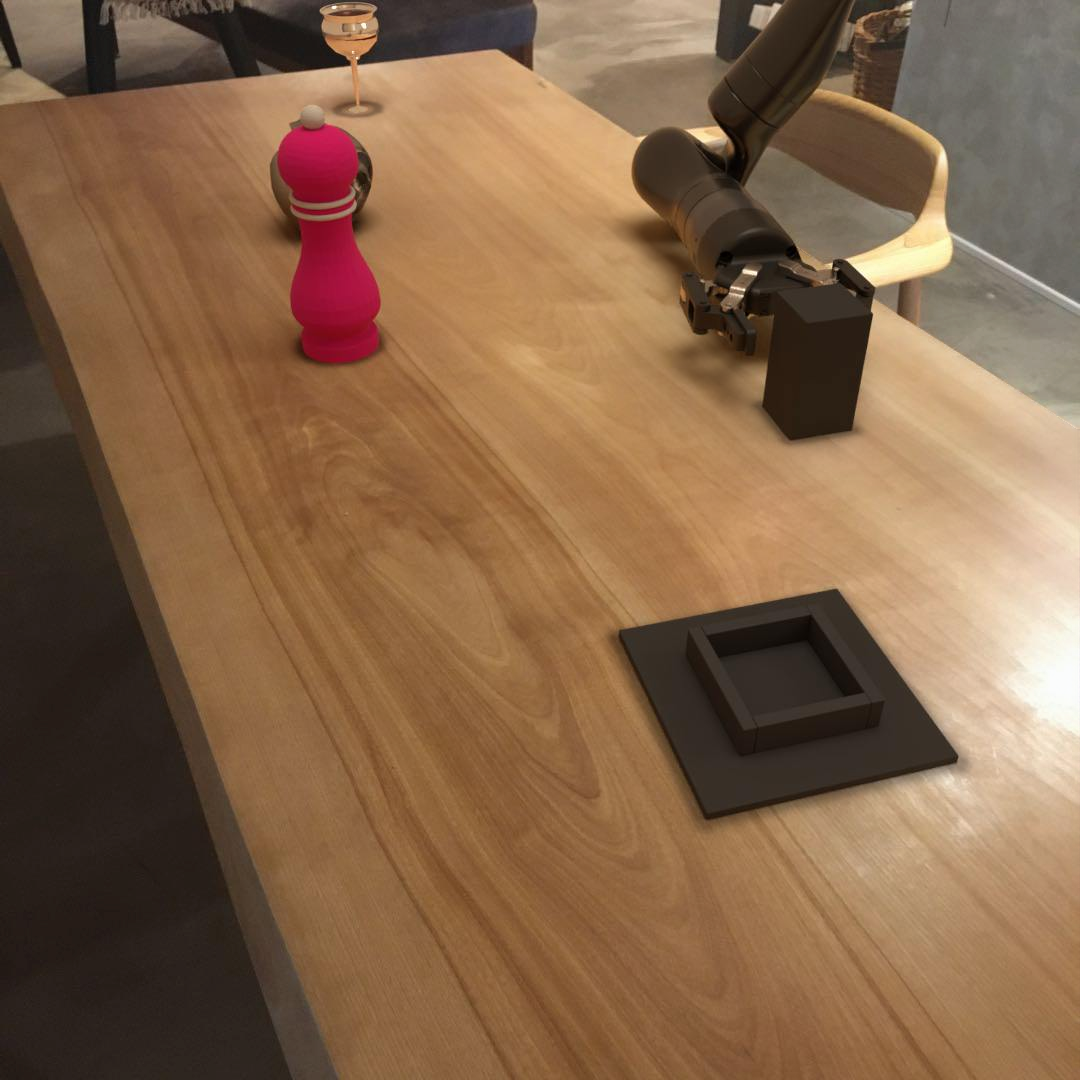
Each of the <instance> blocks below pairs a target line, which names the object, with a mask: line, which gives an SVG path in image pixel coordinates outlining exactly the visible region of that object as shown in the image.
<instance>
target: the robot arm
mask: <svg viewBox="0 0 1080 1080" xmlns="http://www.w3.org/2000/svg"><path fill="white" fill-rule="evenodd" d="M855 2H856V0H784V2H783V3H782V4H781V6H780V7H779V8H778V9H777V11H776V12H775V14H774V15H773V16H772V18H771V19H770V20H769V21H768V22H767V24H766V25H765V26H764V27H763V29H762V30H761V31H760V32H759V34H758V35H757V36H756V37H755V39H754V40H753V41H752V42H751V43H750V44H749V46H747V47H746V49H745V50H744V51H743V53H742V54H741V55H740V56H739V57H738V58H737V60H736V61H734V63H733V64H732V66H731V67H729V69H728V70H727V72H725V74H724V75H723V76H722V77H721V79H720V80H719V81H718V82H717V83H716V85H715V86H714V87H713V88H712V90H711V91H710V93H709V95H708V96H707V97H708V98H707V104H706V105H707V110H708V112H709V114H710V116H711V118H712V119H713V121H714V122H715V123H716V125H717V126H718V128H719V129H720V130H721V131H722V132H723V133H724V135H725V136H726V137H727V139H726V142H725V144H724V146H723V148H722V149H721V150H720V151H719V152H717V151H716V150H714V149H713V148H711V147H710V146H709V145H707V144H705V143H704V142H702V141H701V140H700V139H699V138H697V137H696V136H695V135H693V134H691V132H689V131H687V130H686V129H684V128H682V127H678V126H671V125H669V126H662V127H659V128H657V129H655V130H653V131H651V132H649V134H647V135H646V136H645V137H644V138H643V139H642V140H641V141H640V142H639V144H638V145H637V148H636V149H635V151H634V153H633V157H632V161H631V166H630V167H631V169H630V172H631V173H630V175H631V181H632V185H633V187H634V190H635V191H636V193H637V194H638V196H639V197H640V198H641V199H642V200H643V201H644V202H645V203H646V205H648V206H649V207H650V209H652V210H653V211H654V212H655V214H657V215H659V217H660V218H662V219H663V220H664V221H665V222H667V223H668V225H670V227H671V228H672V229H673V230H674V231H675V232H676V234H677V236H678V238H679V240H680V241H681V242H682V244H683V245H684V246H685V248H686V250H687V252H688V254H689V258H690V260H691V262H692V263H693V265H694V267H695V268H696V270H697V272H698V273H699V275H700V276H701V278H699V276H698V274H697V273H695V272H694V271H685V272H682V273H681V276H680V290H679V291H680V292H679V305H680V307H681V310H682V311H683V314H684V316H685V318H686V320H687V323H688V325H689V327H690V329H691V331H692V333H693V334H695V335H698V336H705V335H707V334H709V330H711V331H717V334H718V335H719V336H720V337H724V339H725V341H726V342H727V343H728V345H729V347H730V348H731V349H732V350H733V351H735V352H740V354H741V356H742V357H743V358H750V357H754V356H755V353H756V346H757V338H758V337H757V330H756V328H755V327H754V325H753V323H752V322H751V321H750V319H751V318H753V317H755V316H757V317H758V318H760V317H769V316H774V310H775V302H776V294H777V292H778V291H785V290H792V289H800V288H807V287H815V286H822V285H829V284H837V283H841V284H842V285H843V286H844V287H845V288H846V289H847V290H848V291H850V292H851V293H852V294H853V295H854V296H855V297H856V298H857V299H858V300H859V301H860V302H861V303H862V304H863V305H865V306H866V307H867V308H868V309H869V310H870V311H871V312H872V306H873V302H874V296H875V294H876V286H875V285H874V284H872V283H871V282H870V281H869V280H868V279H867V278H866V277H865V276H864V275H863V274H862V273H861V272H860V271H859V270H857V269H856V267H854V265H852V264H851V263H850V262H849V261H848V260H846V259H844V258H836V259H834V260H833V261H832V263H831V268H828V269H827V268H826V269H819V270H816V268H815V267H814V266H813V265H810V264H808V263H806V262H804V261H803V259H802V257H801V255H800V251H799V249H798V247H797V245H796V242H795V241H794V239H793V238H792V237H791V236H790V235H789V234H788V232H787V231H786V230H785V229H784V228H783V227H782V225H781V224H780V223H779V222H778V221H777V219H775V217H774V216H773V215H772V214H771V213H770V211H769V210H768V209H767V208H766V207H765V206H764V205H763V204H762V203H760V202H759V200H758V199H755V198H754V197H753V196H752V195H751V194H750V193H749V191H748V190H747V189H746V188H745V187H746V185H747V183H748V182H749V179H750V177H751V176H752V174H753V172H754V170H755V168H756V166H757V165H758V163H759V161H761V158H762V156H763V155H764V153H765V151H766V149H767V147H768V146H769V144H770V143H771V141H772V140H773V139H774V137H775V136H776V135H777V134H778V133H779V132H780V131H781V129H782V128H783V127H784V126H785V125H786V124H787V123H788V122H789V121H790V120H791V118H793V117H794V115H796V114H797V112H798V111H799V110H800V109H801V107H803V105H804V104H805V103H806V102H807V101H808V100H809V99H810V98H811V96H812V95H813V94H814V93H815V92H816V90H817V89H818V88H819V86H820V85H821V84H822V82H823V81H824V79H825V77H826V76H827V74H828V73H829V71H830V69H831V66H832V64H833V62H834V60H835V58H836V55H837V53H838V50H839V47H840V44H841V42H842V39H843V36H844V33H845V29H846V27H847V24H848V21H849V18H850V15H851V12H852V9H853V7H854V6H855V5H854V4H855ZM710 297H713V298H714V300H715V301H716V302H718V303H720V304H719V305H712V302H711V300H710Z"/></svg>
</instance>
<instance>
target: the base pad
mask: <svg viewBox="0 0 1080 1080" xmlns="http://www.w3.org/2000/svg"><path fill="white" fill-rule="evenodd" d="M618 638H619V641H620V643H621V645H622V646H623V647H622V648H623V649H624V651H625V653H626V656H627V657H628V660H629V661H630V664H631V665H632V668H633V670H634V672H635V673H636V676H637V678H638V680H639V683H640V684H641V687H642V689H643V691H644V693H645V695H646V697H647V699H648V701H649V703H650V705H651V708H652V710H653V712H654V713H655V716H656V718H657V720H658V722H659V724H660V727H661V728H662V730H663V733H664V735H665V737H666V739H667V741H668V744H669V745H670V747H671V749H672V751H673V753H674V756H675V757H676V758H675V759H676V760H677V763H678V764H679V766H680V768H681V770H682V772H683V775H684V777H685V780H686V781H687V783H688V785H689V788H690V790H691V791H692V793H693V795H694V797H695V799H696V802H697V803H698V806H699V809H700V810H701V812H702V814H703V816H704V818H705V820H707V821H708V820H713V819H717V818H722V817H727V816H730V815H735V814H740V813H743V812H744V813H745V812H748V811H753V810H757V809H760V808H766V807H770V806H774V805H778V804H783V803H787V802H791V801H796V800H800V799H805V798H809V797H813V796H817V795H823V794H826V793H827V794H828V793H831V792H836V791H839V790H843V789H848V788H853V787H856V786H857V787H858V786H861V785H865V784H871V783H874V782H879V781H884V780H887V779H892V778H896V777H900V776H905V775H909V774H913V773H918V772H922V771H927V770H930V769H936V768H940V767H944V766H949V765H952V764H956V763H958V760H959V757H960V756H959V754H958V752H957V751H956V750H955V748H954V747H953V746H952V744H951V743H950V742H949V740H948V739H947V738H946V736H945V735H944V734H943V732H942V731H941V729H940V728H939V727H938V725H937V724H936V723H935V721H934V719H932V717H931V716H930V714H929V713H928V711H927V710H926V709H925V707H924V706H923V704H921V702H920V700H919V699H918V698H917V696H916V695H915V694H914V692H913V690H911V688H910V687H909V686H908V684H907V683H906V681H905V680H904V678H903V677H902V676H901V674H900V673H899V672H898V670H897V669H896V668H895V667H894V665H893V664H892V662H891V661H890V659H889V658H888V657H887V655H886V654H885V652H884V651H883V650H882V648H881V647H880V645H879V644H878V643H877V641H876V640H875V638H874V637H873V636H872V635H871V633H870V632H869V630H868V629H867V627H866V626H865V625H864V623H863V622H862V621H861V620H860V618H859V617H858V615H857V614H856V612H855V611H854V609H852V607H851V605H850V604H849V603H848V601H847V600H846V599H845V597H844V596H843V595H842V593H841V592H840V591H839V589H838V588H832V589H827V590H822V591H815V592H811V593H806V594H801V595H796V596H791V597H785V598H780V599H775V600H774V599H773V600H769V601H765V602H758V603H754V604H749V605H744V606H739V607H733V608H728V609H723V610H717V611H712V612H707V613H702V614H696V615H691V616H685V617H680V618H676V619H669V620H665V621H659V622H655V623H649V624H645V625H644V624H643V625H639V626H633V627H629V628H623V629H619V630H618Z"/></svg>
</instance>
